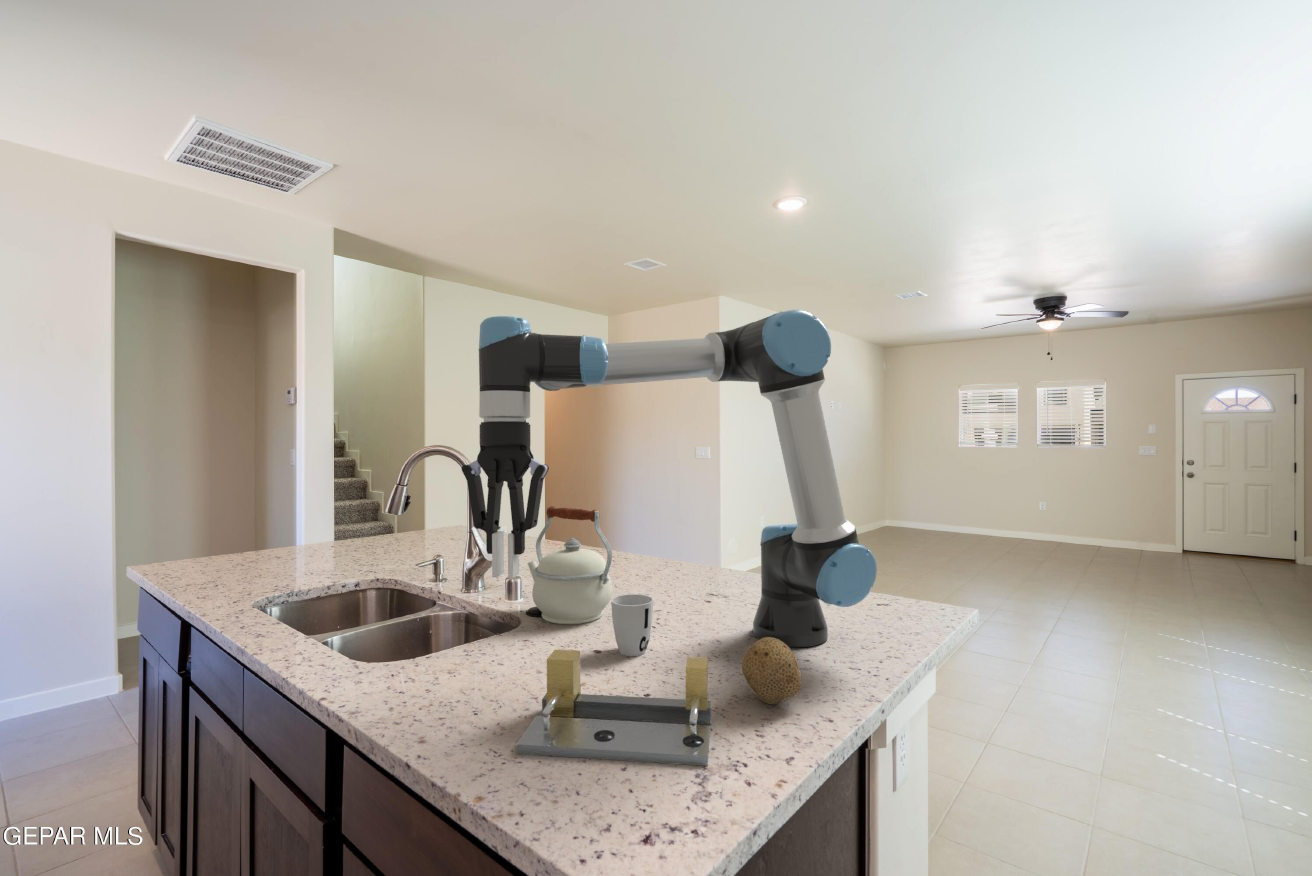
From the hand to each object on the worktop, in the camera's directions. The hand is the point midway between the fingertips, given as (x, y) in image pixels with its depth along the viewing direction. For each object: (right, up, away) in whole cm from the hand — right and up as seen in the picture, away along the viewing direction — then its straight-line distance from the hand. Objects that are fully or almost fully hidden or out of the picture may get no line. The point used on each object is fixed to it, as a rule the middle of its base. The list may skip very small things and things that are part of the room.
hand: (505, 575), depth 91 cm
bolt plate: (+17, -20, -10) cm, 29 cm away
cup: (+18, -20, +24) cm, 37 cm away
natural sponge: (+41, -21, +2) cm, 46 cm away
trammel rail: (+18, -20, -6) cm, 28 cm away
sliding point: (+9, -20, -4) cm, 22 cm away
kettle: (+2, -20, +49) cm, 53 cm away
